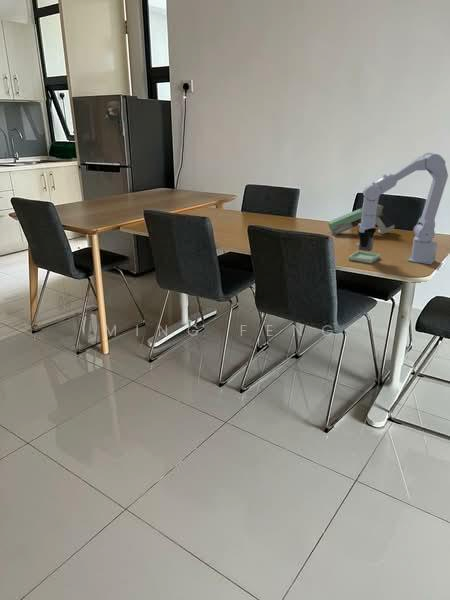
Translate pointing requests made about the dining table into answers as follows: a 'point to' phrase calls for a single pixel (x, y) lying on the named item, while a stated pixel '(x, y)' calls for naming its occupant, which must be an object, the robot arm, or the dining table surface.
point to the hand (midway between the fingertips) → (365, 245)
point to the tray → (364, 257)
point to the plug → (369, 245)
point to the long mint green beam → (355, 218)
